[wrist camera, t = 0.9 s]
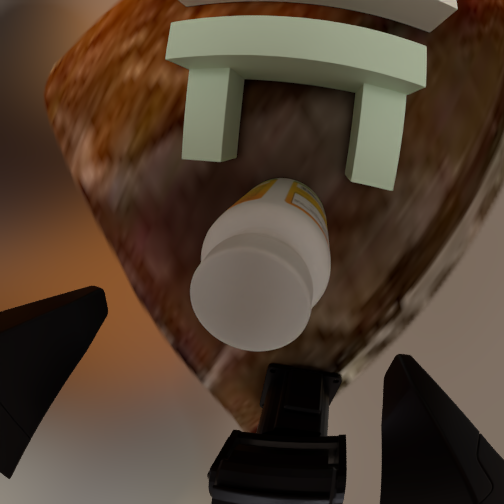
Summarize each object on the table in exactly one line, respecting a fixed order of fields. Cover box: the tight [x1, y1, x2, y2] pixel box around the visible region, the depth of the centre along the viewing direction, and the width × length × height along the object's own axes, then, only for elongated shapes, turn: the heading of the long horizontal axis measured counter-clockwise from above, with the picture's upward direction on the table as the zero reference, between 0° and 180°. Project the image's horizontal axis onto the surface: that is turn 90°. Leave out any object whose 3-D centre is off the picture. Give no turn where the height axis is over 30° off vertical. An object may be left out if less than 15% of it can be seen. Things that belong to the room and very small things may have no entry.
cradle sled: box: [165, 16, 427, 191], centre depth 12 cm, size 7×11×6 cm, turn 84°
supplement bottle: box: [190, 178, 331, 351], centre depth 13 cm, size 5×5×10 cm
